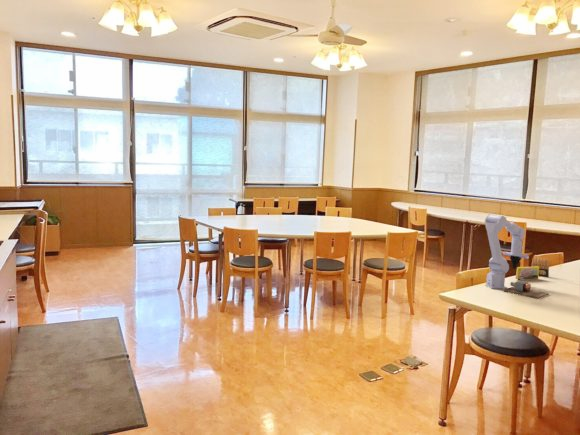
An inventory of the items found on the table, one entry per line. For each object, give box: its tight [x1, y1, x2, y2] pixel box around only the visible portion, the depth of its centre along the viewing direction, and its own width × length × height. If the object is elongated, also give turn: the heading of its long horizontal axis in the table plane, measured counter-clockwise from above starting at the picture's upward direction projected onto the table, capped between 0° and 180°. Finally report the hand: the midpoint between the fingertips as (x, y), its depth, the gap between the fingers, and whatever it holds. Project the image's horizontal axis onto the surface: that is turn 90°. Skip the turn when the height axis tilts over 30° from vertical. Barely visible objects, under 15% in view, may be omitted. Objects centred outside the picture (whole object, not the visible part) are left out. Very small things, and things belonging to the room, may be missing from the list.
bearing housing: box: [514, 280, 529, 292], centre depth 271 cm, size 4×7×5 cm, turn 131°
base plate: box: [503, 286, 549, 300], centre depth 269 cm, size 19×14×1 cm
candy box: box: [515, 266, 540, 280], centre depth 302 cm, size 16×2×8 cm, turn 105°
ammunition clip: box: [530, 256, 550, 278], centre depth 313 cm, size 11×2×12 cm, turn 49°
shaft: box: [510, 281, 532, 291], centre depth 272 cm, size 10×4×4 cm, turn 41°
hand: (514, 268), depth 290 cm, fingers closed
